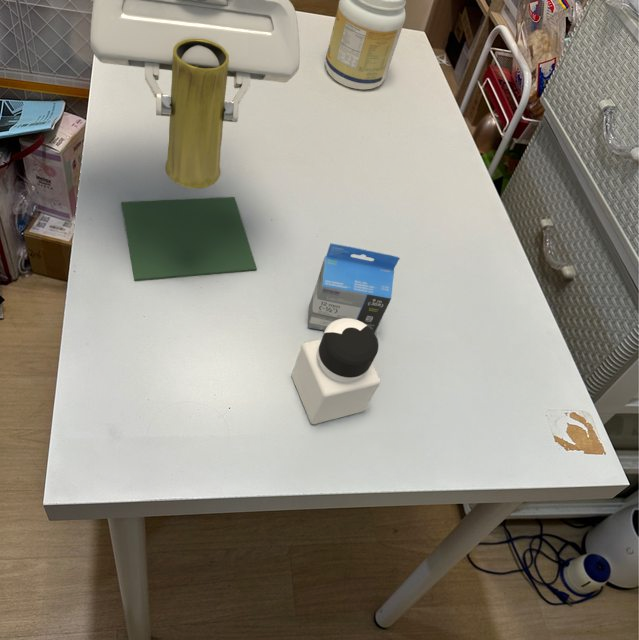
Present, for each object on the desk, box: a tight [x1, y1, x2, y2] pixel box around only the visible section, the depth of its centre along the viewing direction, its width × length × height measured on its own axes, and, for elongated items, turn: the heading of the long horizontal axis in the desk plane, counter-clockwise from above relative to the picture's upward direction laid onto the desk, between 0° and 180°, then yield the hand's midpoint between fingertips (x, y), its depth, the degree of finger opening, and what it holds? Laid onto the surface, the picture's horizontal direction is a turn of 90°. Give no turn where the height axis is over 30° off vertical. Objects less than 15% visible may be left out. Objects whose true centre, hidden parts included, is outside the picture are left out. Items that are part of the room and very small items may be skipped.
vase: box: [164, 38, 229, 189], centre depth 62 cm, size 6×6×14 cm
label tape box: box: [307, 242, 401, 334], centre depth 75 cm, size 9×4×12 cm, turn 87°
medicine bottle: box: [291, 318, 382, 425], centre depth 68 cm, size 7×7×12 cm
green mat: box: [120, 196, 258, 282], centre depth 83 cm, size 16×14×1 cm
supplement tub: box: [325, 0, 407, 91], centre depth 111 cm, size 12×12×17 cm
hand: (197, 118), depth 61 cm, fingers closed on vase, 5 cm apart
